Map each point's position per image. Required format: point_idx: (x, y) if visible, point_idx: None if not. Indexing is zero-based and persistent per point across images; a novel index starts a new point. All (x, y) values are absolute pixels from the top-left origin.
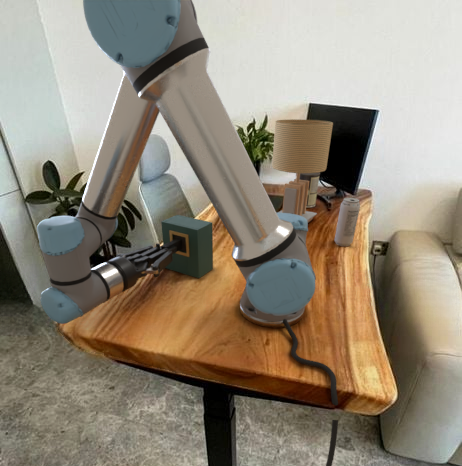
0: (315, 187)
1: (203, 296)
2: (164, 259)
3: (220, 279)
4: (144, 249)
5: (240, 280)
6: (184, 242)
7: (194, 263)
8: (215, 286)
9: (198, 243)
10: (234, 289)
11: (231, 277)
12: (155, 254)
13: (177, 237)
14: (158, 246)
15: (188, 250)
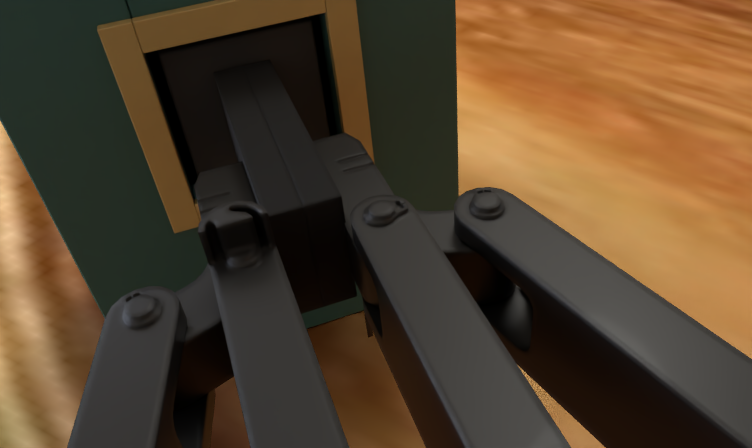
0: None
1: None
2: (702, 338)
3: (545, 201)
4: (155, 426)
5: (611, 143)
6: (300, 76)
7: (422, 200)
8: (623, 253)
9: (452, 13)
10: (710, 198)
11: (553, 158)
12: (472, 369)
13: (209, 64)
14: (254, 241)
15: (369, 124)
